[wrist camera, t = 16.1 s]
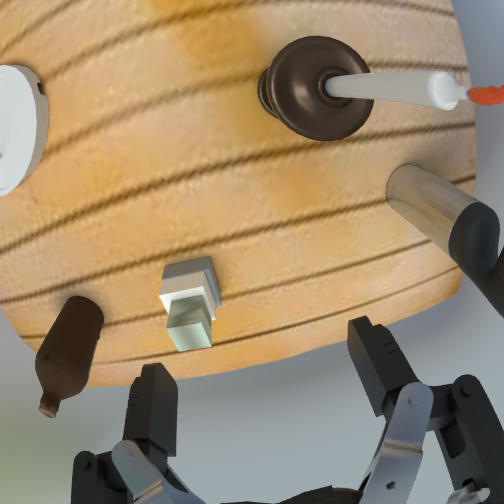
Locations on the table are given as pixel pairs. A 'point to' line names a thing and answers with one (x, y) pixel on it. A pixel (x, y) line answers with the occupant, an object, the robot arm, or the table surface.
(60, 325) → the olive oil
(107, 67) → the table surface
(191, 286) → the cream top block
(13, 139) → the ashtray
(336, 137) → the candlestick
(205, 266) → the slate base block
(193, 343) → the sage block
